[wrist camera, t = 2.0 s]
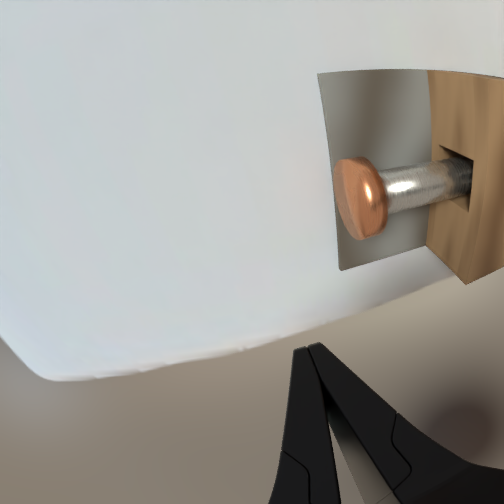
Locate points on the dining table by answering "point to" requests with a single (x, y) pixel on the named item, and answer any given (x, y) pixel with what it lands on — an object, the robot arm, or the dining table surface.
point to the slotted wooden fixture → (423, 159)
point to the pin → (394, 189)
